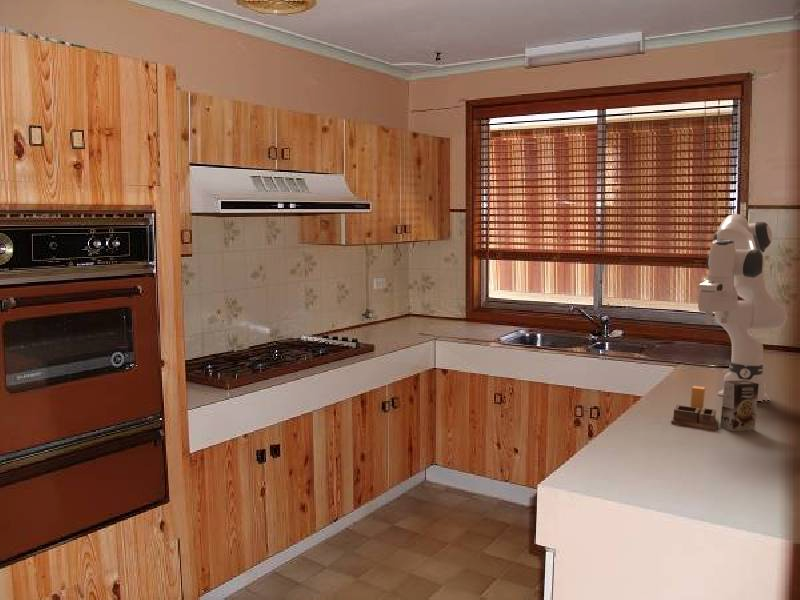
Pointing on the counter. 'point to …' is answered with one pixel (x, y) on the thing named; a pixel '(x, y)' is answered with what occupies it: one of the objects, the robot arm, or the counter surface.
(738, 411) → the coffee box
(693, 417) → the socket holder
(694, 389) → the square peg
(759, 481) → the counter surface
